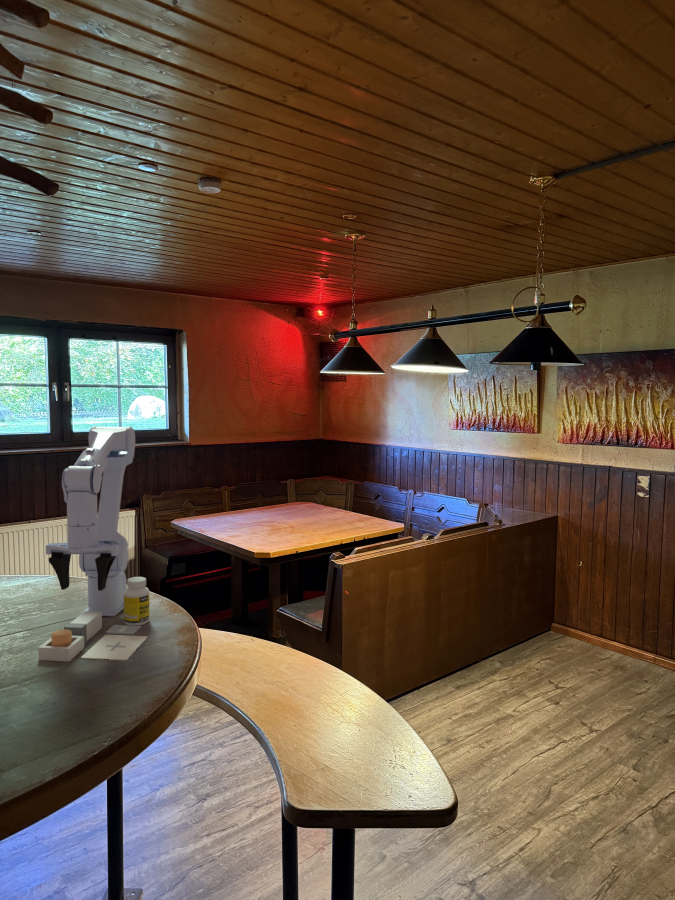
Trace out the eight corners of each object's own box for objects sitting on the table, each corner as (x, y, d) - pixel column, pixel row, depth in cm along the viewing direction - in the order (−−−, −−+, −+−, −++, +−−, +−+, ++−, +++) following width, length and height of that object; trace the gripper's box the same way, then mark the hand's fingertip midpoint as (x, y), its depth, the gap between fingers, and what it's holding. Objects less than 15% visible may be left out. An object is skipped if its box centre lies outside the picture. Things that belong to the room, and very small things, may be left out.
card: (113, 626, 132) (113, 624, 132) (140, 627, 132) (140, 625, 132) (105, 633, 128) (105, 631, 128) (133, 634, 128) (133, 633, 128)
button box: (55, 646, 121) (54, 634, 121) (84, 648, 121) (84, 636, 121) (38, 660, 115) (38, 647, 115) (69, 661, 115) (69, 648, 115)
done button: (57, 643, 120) (57, 629, 119) (75, 644, 120) (75, 630, 119) (48, 651, 116) (47, 636, 116) (66, 652, 116) (65, 637, 116)
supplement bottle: (141, 627, 132) (141, 584, 131) (119, 625, 133) (118, 581, 132) (154, 618, 137) (153, 576, 136) (132, 616, 138) (131, 574, 137)
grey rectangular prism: (85, 627, 132) (85, 610, 131) (102, 627, 131) (101, 611, 131) (64, 644, 122) (63, 626, 122) (82, 645, 122) (81, 627, 122)
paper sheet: (105, 635, 127) (105, 634, 127) (147, 637, 127) (147, 636, 127) (80, 658, 116) (80, 657, 116) (126, 660, 116) (126, 659, 116)
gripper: (37, 527, 120) (38, 593, 121) (109, 528, 120) (110, 595, 121) (54, 520, 127) (56, 583, 128) (123, 521, 127) (123, 585, 128)
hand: (83, 588), depth 125 cm, fingers open, 7 cm apart
